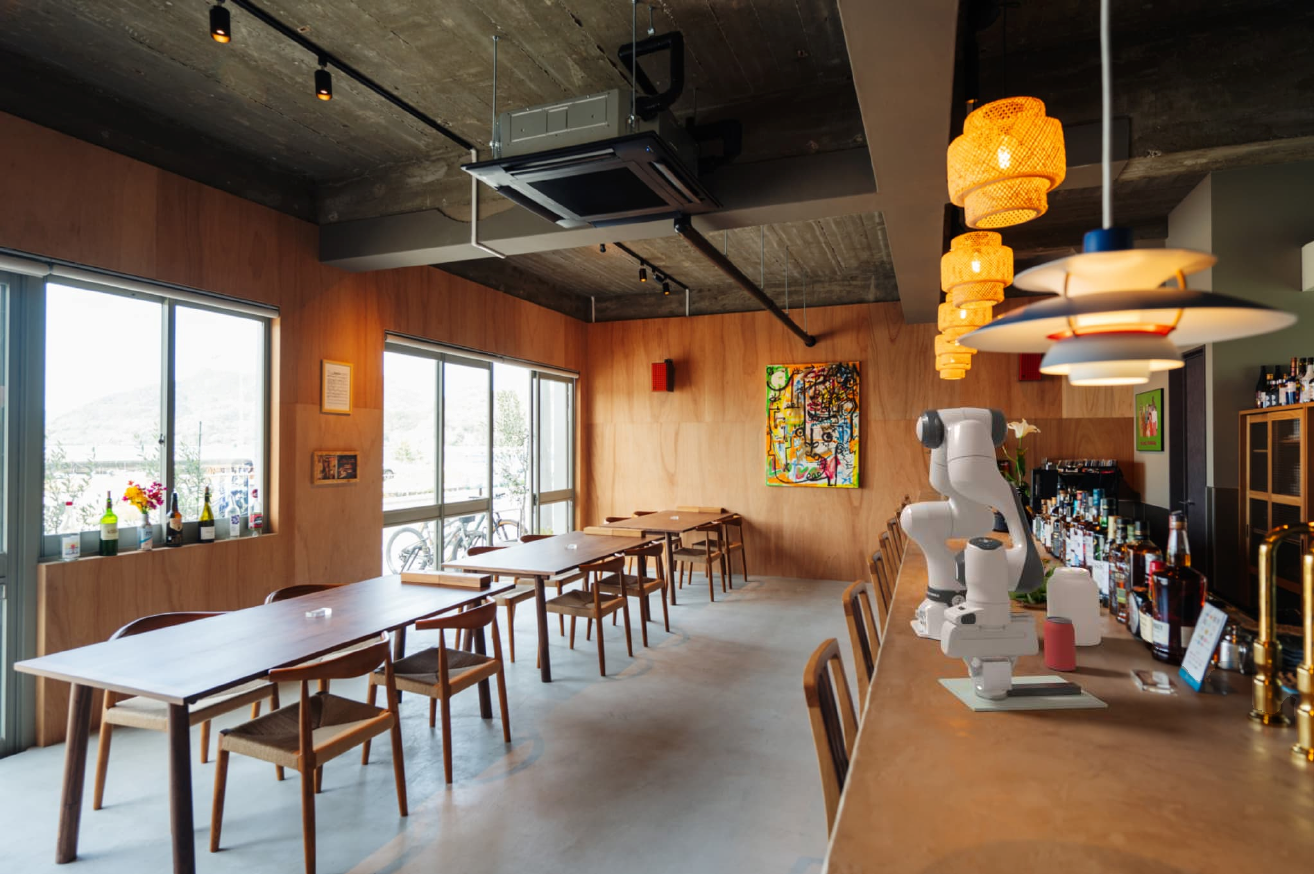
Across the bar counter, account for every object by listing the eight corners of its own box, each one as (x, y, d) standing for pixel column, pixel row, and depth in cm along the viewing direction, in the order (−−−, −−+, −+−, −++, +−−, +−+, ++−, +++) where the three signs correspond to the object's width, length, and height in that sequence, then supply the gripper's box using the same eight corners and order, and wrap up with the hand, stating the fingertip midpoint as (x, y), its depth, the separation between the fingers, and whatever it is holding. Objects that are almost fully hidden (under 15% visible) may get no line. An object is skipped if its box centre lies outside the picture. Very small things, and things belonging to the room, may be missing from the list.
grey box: (971, 680, 152) (970, 654, 152) (997, 680, 152) (996, 653, 152) (984, 690, 146) (982, 662, 146) (1011, 689, 146) (1010, 661, 146)
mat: (938, 681, 160) (938, 679, 160) (1057, 678, 160) (1056, 675, 160) (974, 711, 142) (974, 708, 142) (1107, 707, 142) (1107, 704, 142)
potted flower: (1072, 599, 237) (1070, 549, 237) (1093, 616, 214) (1090, 560, 215) (993, 596, 244) (991, 548, 245) (1005, 612, 222) (1003, 558, 222)
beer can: (1080, 672, 163) (1078, 622, 164) (1050, 671, 165) (1048, 622, 165) (1069, 664, 170) (1068, 616, 170) (1041, 663, 171) (1039, 615, 171)
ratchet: (969, 690, 153) (969, 667, 153) (1068, 687, 153) (1067, 664, 153) (983, 701, 146) (982, 676, 146) (1086, 697, 146) (1085, 673, 146)
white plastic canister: (1098, 637, 192) (1095, 566, 192) (1103, 649, 181) (1100, 574, 181) (1047, 632, 198) (1044, 563, 198) (1049, 644, 187) (1046, 571, 187)
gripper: (1027, 607, 153) (1029, 669, 153) (936, 610, 153) (938, 672, 153) (1043, 614, 146) (1045, 679, 146) (948, 617, 146) (951, 682, 146)
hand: (990, 675), depth 149 cm, fingers closed on grey box, 6 cm apart
